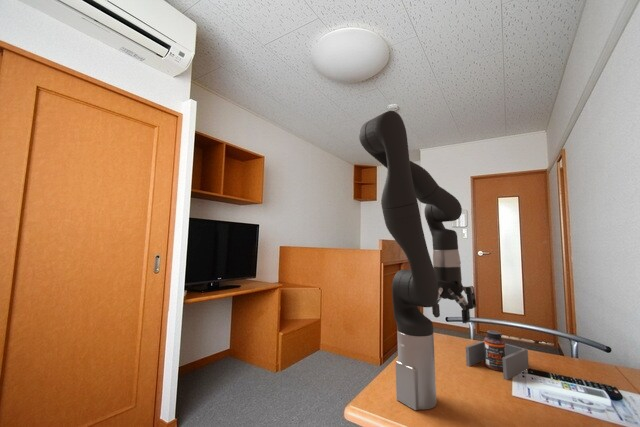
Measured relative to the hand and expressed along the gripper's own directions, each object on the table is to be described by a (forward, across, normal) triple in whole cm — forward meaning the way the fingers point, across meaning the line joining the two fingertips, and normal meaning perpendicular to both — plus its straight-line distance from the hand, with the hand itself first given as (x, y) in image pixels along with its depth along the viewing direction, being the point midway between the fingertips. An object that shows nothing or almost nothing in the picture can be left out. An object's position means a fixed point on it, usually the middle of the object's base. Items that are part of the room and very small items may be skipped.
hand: (450, 319), depth 85 cm
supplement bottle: (+19, +3, +21) cm, 29 cm away
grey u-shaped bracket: (+19, +4, +22) cm, 29 cm away
